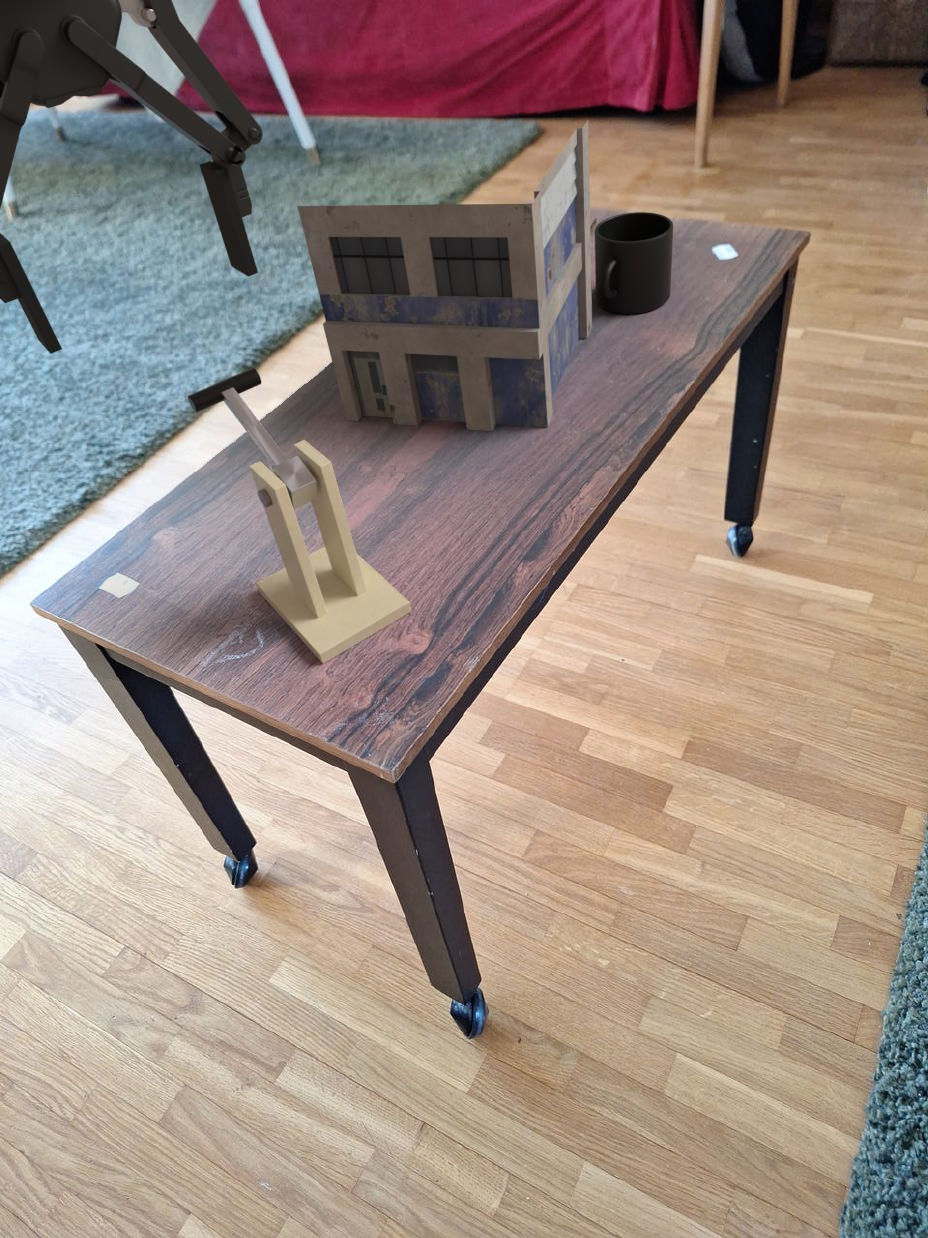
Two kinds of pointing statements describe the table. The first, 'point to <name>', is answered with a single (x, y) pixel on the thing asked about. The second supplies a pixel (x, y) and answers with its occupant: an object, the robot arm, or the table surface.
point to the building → (457, 300)
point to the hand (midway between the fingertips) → (151, 306)
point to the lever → (259, 434)
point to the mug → (633, 262)
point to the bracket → (323, 567)
